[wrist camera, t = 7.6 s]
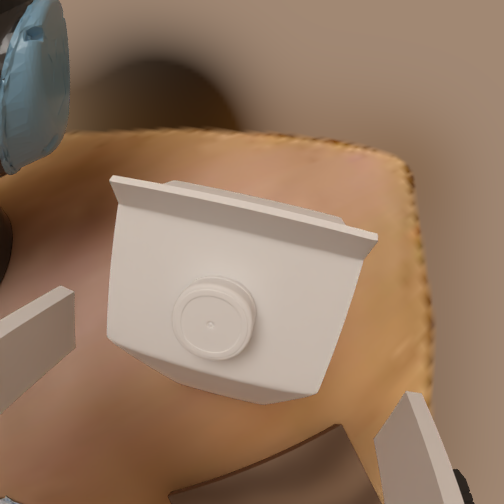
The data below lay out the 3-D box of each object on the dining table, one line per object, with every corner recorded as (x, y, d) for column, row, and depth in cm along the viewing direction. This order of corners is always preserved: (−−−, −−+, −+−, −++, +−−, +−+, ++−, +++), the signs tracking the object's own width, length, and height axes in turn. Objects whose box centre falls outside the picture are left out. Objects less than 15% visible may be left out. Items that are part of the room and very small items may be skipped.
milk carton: (199, 301, 26) (161, 101, 9) (283, 321, 26) (375, 145, 9) (175, 382, 23) (47, 297, 6) (264, 405, 22) (367, 385, 6)
